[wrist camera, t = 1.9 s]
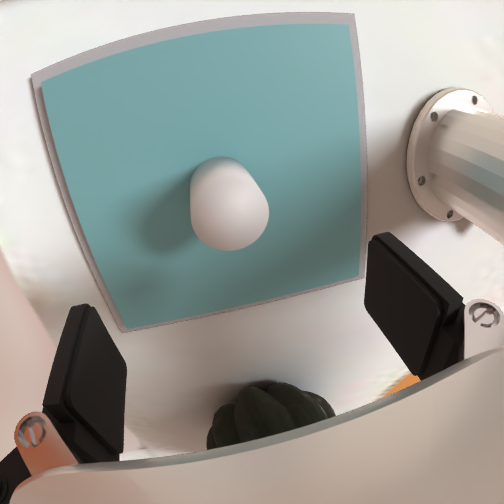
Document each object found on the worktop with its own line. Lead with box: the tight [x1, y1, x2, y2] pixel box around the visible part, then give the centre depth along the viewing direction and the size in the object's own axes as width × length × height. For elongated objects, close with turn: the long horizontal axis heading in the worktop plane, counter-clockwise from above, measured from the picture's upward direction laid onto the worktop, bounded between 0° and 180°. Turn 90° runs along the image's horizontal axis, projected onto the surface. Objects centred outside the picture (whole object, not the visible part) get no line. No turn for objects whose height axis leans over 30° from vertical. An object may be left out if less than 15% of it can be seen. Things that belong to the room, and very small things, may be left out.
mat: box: [31, 12, 367, 333], centre depth 22 cm, size 22×22×1 cm
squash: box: [207, 382, 336, 450], centre depth 31 cm, size 14×15×15 cm
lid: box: [41, 24, 361, 329], centre depth 19 cm, size 20×20×6 cm
